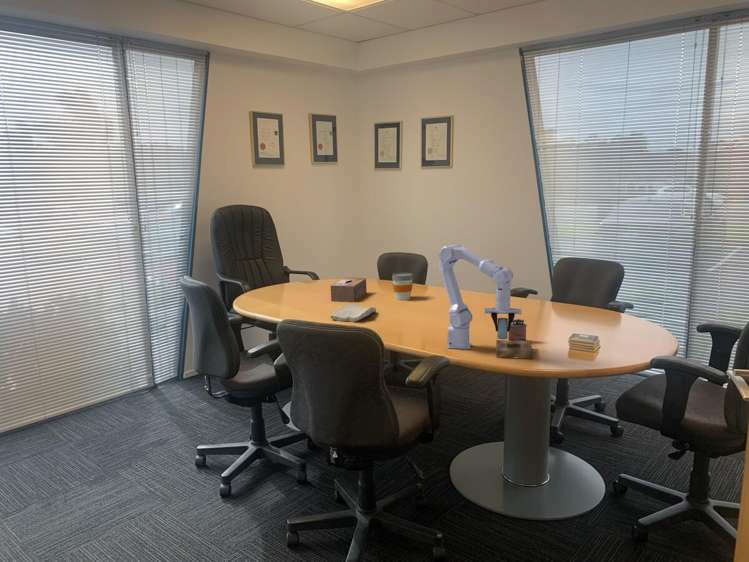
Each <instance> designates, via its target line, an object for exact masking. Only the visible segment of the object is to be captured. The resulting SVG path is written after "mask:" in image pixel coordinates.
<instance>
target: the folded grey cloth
mask: <svg viewBox="0 0 749 562" xmlns="http://www.w3.org/2000/svg"><path fill="white" fill-rule="evenodd" d="M376 312H377V309H376V307H375V306H370V307H365V306H362V305H359V304H355V303H353V304H345V305H342V306H340V307H338V308H336V310H335V311H334V312H332V313H331V314H330V318H331V319H332V320H334V321H337V322H353V323H355V322H358V321H361V320H362V319H365V318H366V317H368V316H369V315H371V314H373V313H376Z"/></svg>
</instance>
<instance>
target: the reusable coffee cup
mask: <svg viewBox="0 0 749 562" xmlns="http://www.w3.org/2000/svg"><path fill="white" fill-rule="evenodd" d="M413 276H414V275H413V273H411V272H396V273H395V272H394V273H392V277H391V279H392V289H393V292H394V298H395V300H397V301H408V300H411V295H412V290H413V279H414V277H413Z"/></svg>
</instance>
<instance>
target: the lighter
mask: <svg viewBox="0 0 749 562" xmlns="http://www.w3.org/2000/svg"><path fill="white" fill-rule="evenodd" d="M526 337H527V323H525V319H524V318H522V319H521V318H514V319H513V321H512V323H511V326H510V331H509V332H508V335H507V341H508V340H509V341H527V338H526Z"/></svg>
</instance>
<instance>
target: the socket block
mask: <svg viewBox="0 0 749 562" xmlns="http://www.w3.org/2000/svg"><path fill="white" fill-rule="evenodd" d="M495 341H496V344H495V348H496V349H495V350H496V353H497V354H496V358H497V357H519V358H518V359H521V358H534V356H533V355H534V354H533V353H534V351H533V347H532V343H531V341H529V340H528V341H527V340H526V341H508V339H498V340H497V339H496V340H495Z"/></svg>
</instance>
